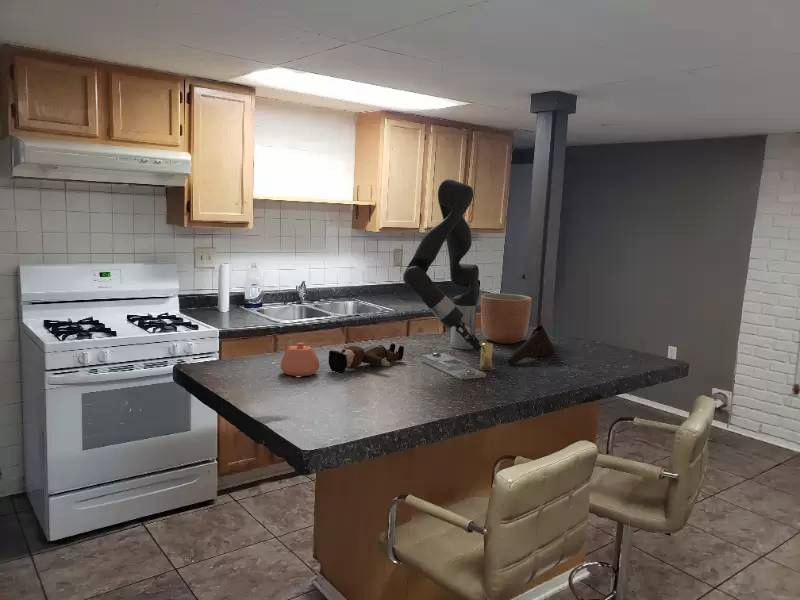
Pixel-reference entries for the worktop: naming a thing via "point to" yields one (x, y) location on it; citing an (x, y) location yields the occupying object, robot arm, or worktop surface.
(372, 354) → the toy
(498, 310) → the planter
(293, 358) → the sugar bowl
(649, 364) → the worktop surface
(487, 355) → the pin
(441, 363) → the grey metal plate
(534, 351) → the holster
